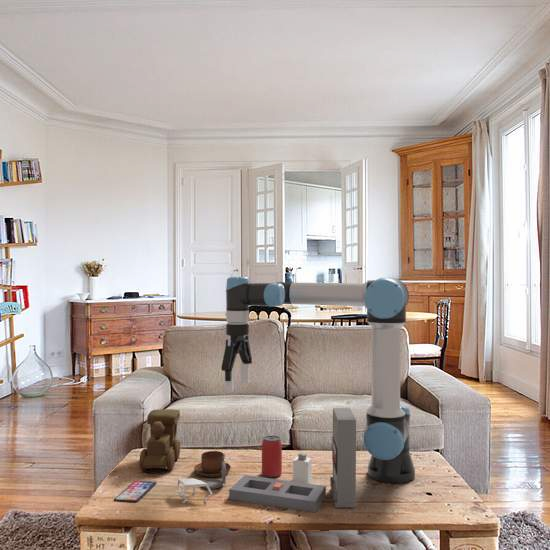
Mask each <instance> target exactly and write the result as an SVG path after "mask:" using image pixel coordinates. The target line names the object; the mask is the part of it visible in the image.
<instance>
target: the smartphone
mask: <svg viewBox="0 0 550 550" xmlns="http://www.w3.org/2000/svg"><path fill="white" fill-rule="evenodd" d="M156 485H157V482H156V481H153V480H151V481H149V480H134V481H132V482H131V484H129V485H128V486H127V487H126V488H124V489H123V490H122V491H121V492H120V493H119V494H118V495H117V496H115V498H114V499H113V501H114V502H122V503H124V502H125V503H131V504H132V503H133V504H135V503H136V504H137V503H138V502H140V501H141V500H142V499H143V498H144V497H145V495H147V494H148V493H149V492H150V491H151V490H152V489H153V488H154V487H155V486H156Z"/></svg>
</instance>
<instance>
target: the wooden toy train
mask: <svg viewBox="0 0 550 550" xmlns="http://www.w3.org/2000/svg"><path fill="white" fill-rule="evenodd" d="M180 412H181V411H180V409H175V408H172V409H171V408H169V409H167V408H166V409H165V408H162V409H160V408H159V409H152V410H150V412H149V413H148V414H147V417H146V419H147V422H146V425H150V428H149V429H150V430H149V431H150V437H149V438H148V441H147V442H146V443H147V444H146V448H142V450H141V451H140V454H139V463H138V465H139V469H140V470H141V471H143V472H144V471H146V470H147V469H166V470H167V471H173V469H174V467H175V461H177V460H179V459H180V455H181V454H180V453H181V441H180V439H177V432H178V431H177V429H178V422H179V421H180V417H181V416H180Z"/></svg>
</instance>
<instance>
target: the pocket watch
mask: <svg viewBox="0 0 550 550" xmlns="http://www.w3.org/2000/svg"><path fill="white" fill-rule="evenodd" d="M223 454H224V455H223V457H222V459H223V461H222V475H221V479H218V478H208V479H205V480H202V481H203V482H205V483H206V484H207V485H208V486H209V488H210V490H212V489H218V488H221V487H223V485H224V484H226V480H227V479H226V478H227V473H226V463H227V462H226V460H225V456H226V453H225V452H224V453H223ZM202 488H204V489H207V490H208V488H207V487H206V486H202Z"/></svg>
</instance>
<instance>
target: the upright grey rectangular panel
mask: <svg viewBox="0 0 550 550" xmlns="http://www.w3.org/2000/svg"><path fill="white" fill-rule="evenodd" d="M352 411H353V410H352V409H351V408H350V407H333V408H332V436H331V437H332V440H331V441H332V443H331V444H332V447H331V448H332V449H331V450H332V453H331V454H332V455H331V457H332V458H331V459H332V476H331V475H329V477H330V478H329V479H330V482H329V483H330V484H329V486H330V492H331V495H332V499H333V503H334V507H335V508H336V509H339V508H352V509H356V508H357V501H356V500H357V497H356V496H357V490H356V489H357V478H356V477H357V473H356V472H357V419H356V417H355V415H354V413H353V412H352Z"/></svg>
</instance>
